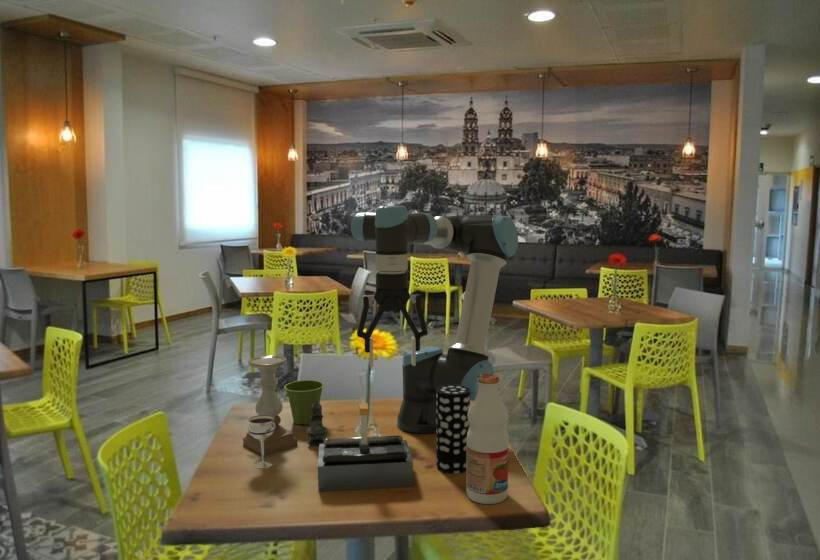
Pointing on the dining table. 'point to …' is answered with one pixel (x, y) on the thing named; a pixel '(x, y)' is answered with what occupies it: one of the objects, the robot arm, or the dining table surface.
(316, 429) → the salt shaker
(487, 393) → the fruit juice
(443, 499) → the dining table surface
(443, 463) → the spotted tube
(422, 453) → the dining table surface
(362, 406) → the breaker lever
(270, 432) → the wineglass
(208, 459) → the dining table surface
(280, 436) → the candle holder
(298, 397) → the plant pot
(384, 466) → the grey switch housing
